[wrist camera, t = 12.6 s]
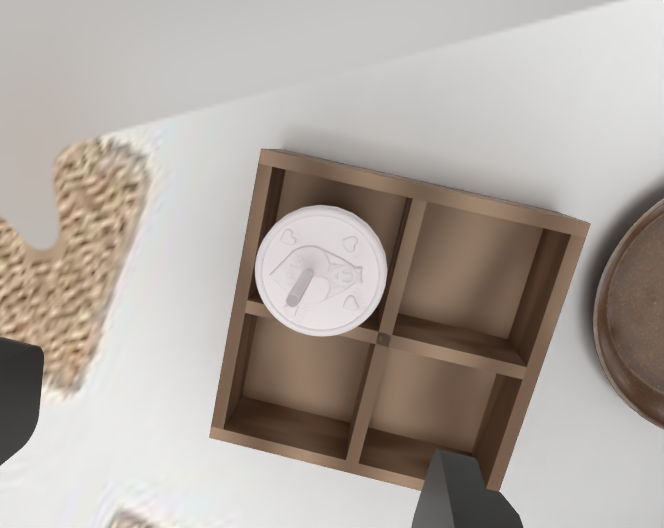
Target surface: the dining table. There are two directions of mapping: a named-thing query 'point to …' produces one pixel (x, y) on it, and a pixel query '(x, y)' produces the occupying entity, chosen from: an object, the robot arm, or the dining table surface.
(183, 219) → the dining table surface
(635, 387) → the plant saucer
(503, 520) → the robot arm
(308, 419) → the bottle caddy
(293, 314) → the smoothie
